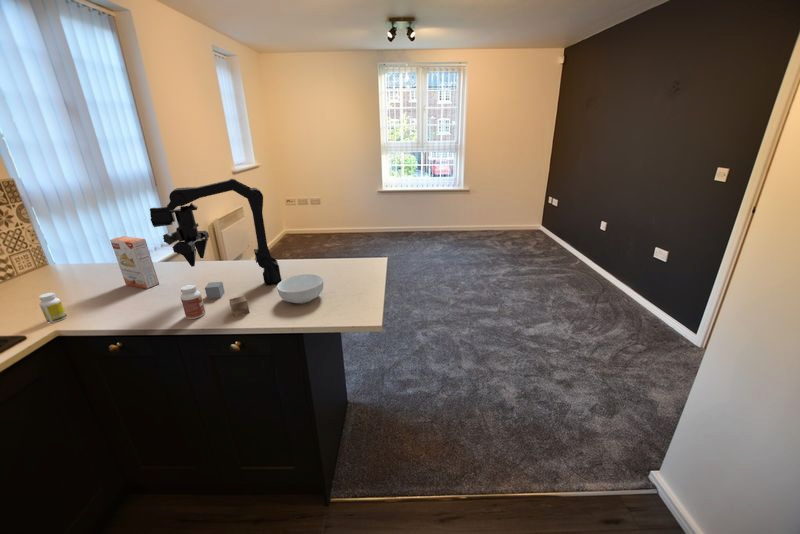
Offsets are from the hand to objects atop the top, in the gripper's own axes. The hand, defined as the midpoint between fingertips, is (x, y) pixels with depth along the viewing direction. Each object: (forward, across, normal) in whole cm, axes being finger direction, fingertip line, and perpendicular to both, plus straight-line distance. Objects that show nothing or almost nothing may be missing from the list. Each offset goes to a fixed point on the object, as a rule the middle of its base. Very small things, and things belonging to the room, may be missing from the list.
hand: (197, 262), depth 137 cm
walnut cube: (+14, +19, +18) cm, 30 cm away
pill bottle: (+14, +18, +2) cm, 23 cm away
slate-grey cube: (+14, +2, +4) cm, 15 cm away
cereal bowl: (+15, +12, +39) cm, 44 cm away
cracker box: (+14, -17, -32) cm, 39 cm away
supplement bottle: (+14, +10, -47) cm, 50 cm away
